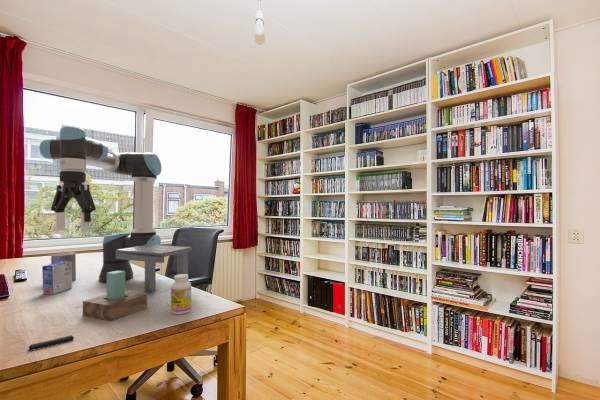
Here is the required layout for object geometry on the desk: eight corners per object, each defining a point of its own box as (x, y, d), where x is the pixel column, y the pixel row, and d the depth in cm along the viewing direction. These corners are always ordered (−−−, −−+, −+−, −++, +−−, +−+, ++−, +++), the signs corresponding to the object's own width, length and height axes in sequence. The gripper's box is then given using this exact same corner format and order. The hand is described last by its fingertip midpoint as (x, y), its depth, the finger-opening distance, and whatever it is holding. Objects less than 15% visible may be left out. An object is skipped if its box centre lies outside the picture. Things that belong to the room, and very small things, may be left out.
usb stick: (73, 338, 88) (73, 333, 88) (73, 342, 86) (73, 336, 86) (28, 349, 81) (28, 343, 81) (28, 353, 80) (28, 347, 80)
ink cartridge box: (61, 287, 140) (61, 256, 140) (72, 288, 139) (72, 256, 140) (41, 294, 130) (41, 260, 130) (53, 294, 130) (53, 260, 130)
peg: (106, 312, 108) (106, 272, 108) (117, 308, 111) (117, 270, 112) (114, 314, 106) (114, 273, 106) (125, 310, 110) (125, 271, 110)
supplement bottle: (166, 313, 107) (166, 276, 107) (182, 307, 113) (181, 272, 113) (180, 316, 104) (180, 278, 104) (195, 310, 110) (195, 274, 110)
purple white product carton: (56, 279, 155) (56, 250, 155) (79, 278, 158) (78, 249, 158) (47, 284, 146) (46, 253, 146) (71, 282, 149) (71, 252, 149)
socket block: (82, 315, 105) (82, 301, 105) (120, 303, 118) (120, 290, 118) (111, 321, 100) (111, 305, 100) (147, 307, 113) (147, 293, 113)
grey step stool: (115, 300, 122) (115, 249, 122) (148, 289, 136) (148, 244, 137) (161, 307, 113) (161, 253, 113) (191, 295, 128) (191, 247, 128)
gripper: (39, 171, 110) (38, 230, 110) (85, 168, 101) (85, 233, 101) (61, 173, 117) (61, 229, 117) (107, 170, 108) (107, 231, 108)
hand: (72, 231), depth 109 cm, fingers open, 13 cm apart
